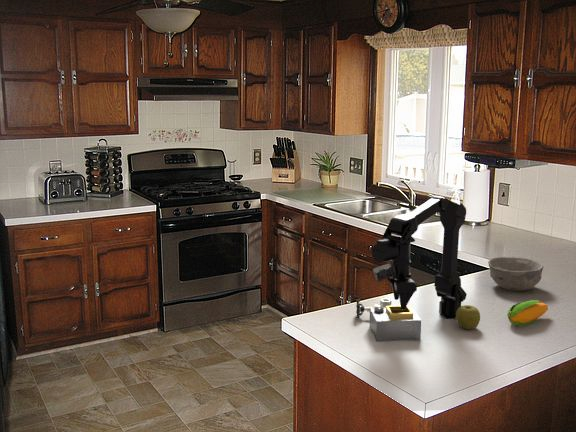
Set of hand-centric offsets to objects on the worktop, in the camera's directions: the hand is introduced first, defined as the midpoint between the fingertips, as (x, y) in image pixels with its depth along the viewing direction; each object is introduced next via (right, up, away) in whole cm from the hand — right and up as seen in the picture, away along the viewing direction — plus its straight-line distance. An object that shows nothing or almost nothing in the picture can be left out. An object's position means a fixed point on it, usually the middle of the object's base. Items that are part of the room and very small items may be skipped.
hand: (399, 304), depth 200 cm
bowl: (+53, 0, +47) cm, 71 cm away
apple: (+23, -9, +6) cm, 26 cm away
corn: (+45, -8, +11) cm, 47 cm away
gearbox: (-1, -10, +2) cm, 10 cm away
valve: (-6, -7, +16) cm, 19 cm away
